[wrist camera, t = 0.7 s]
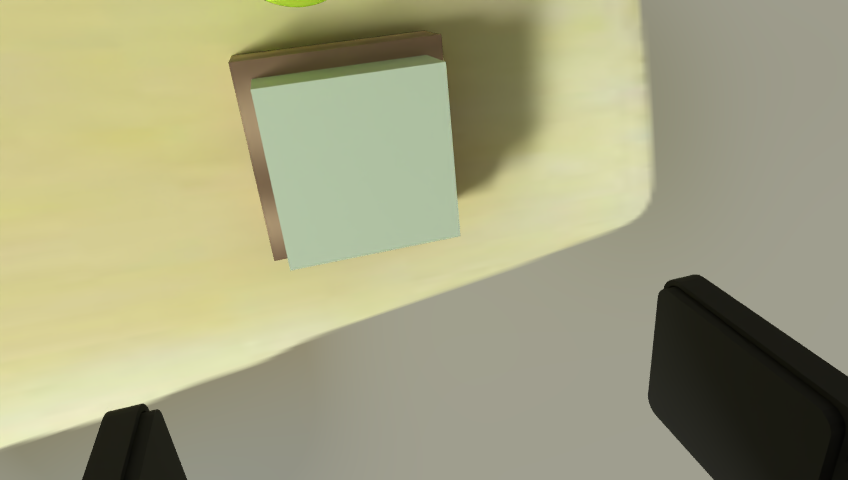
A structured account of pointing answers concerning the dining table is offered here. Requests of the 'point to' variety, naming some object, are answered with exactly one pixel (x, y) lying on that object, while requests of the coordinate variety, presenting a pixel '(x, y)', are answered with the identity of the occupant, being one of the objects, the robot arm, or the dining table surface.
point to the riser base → (302, 61)
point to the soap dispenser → (296, 2)
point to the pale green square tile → (359, 157)
